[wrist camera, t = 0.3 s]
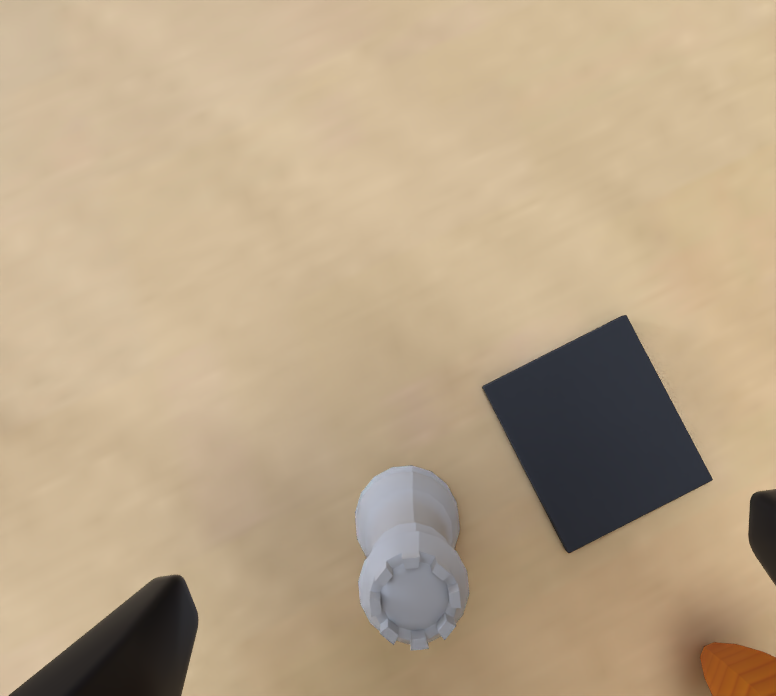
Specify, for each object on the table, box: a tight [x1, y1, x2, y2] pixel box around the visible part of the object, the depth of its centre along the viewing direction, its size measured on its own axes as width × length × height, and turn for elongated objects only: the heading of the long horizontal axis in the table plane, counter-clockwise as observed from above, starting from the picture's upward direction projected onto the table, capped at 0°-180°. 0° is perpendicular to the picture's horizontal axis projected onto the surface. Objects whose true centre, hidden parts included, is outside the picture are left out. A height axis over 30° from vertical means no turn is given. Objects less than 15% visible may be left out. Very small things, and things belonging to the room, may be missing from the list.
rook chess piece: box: [355, 466, 469, 650], centre depth 17 cm, size 4×4×8 cm
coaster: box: [482, 315, 713, 553], centre depth 21 cm, size 8×7×1 cm
